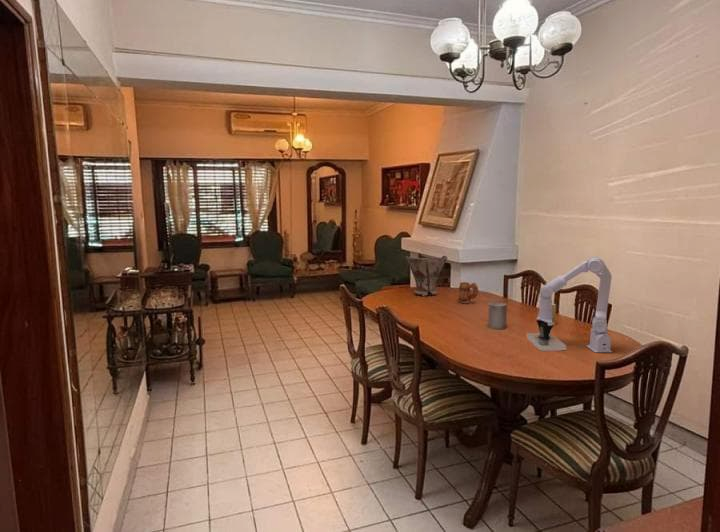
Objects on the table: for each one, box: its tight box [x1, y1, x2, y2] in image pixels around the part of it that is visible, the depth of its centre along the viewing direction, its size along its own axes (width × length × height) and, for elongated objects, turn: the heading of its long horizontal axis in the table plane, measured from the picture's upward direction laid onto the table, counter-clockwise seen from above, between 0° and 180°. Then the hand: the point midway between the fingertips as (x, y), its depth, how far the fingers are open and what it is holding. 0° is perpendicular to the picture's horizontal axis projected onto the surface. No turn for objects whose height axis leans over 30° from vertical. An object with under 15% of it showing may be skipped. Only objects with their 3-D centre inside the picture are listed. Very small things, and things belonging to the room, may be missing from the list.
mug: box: [458, 281, 479, 304], centre depth 312 cm, size 15×8×15 cm, turn 42°
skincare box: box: [551, 302, 557, 326], centre depth 258 cm, size 6×4×12 cm
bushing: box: [539, 326, 549, 340], centre depth 227 cm, size 4×4×7 cm
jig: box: [526, 332, 567, 352], centre depth 226 cm, size 20×12×2 cm, turn 178°
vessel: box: [405, 255, 448, 297], centre depth 341 cm, size 30×27×30 cm
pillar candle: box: [488, 301, 508, 330], centre depth 255 cm, size 10×10×15 cm
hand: (544, 335), depth 227 cm, fingers closed on bushing, 4 cm apart
